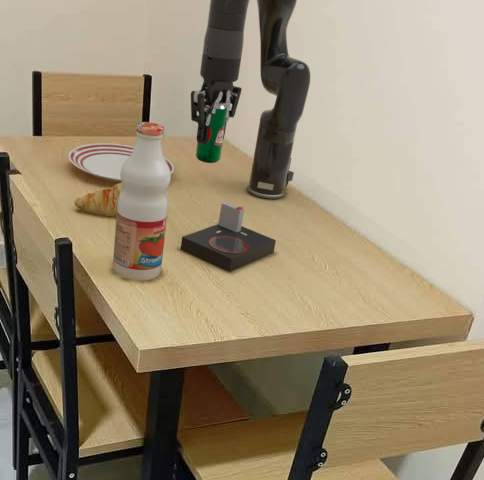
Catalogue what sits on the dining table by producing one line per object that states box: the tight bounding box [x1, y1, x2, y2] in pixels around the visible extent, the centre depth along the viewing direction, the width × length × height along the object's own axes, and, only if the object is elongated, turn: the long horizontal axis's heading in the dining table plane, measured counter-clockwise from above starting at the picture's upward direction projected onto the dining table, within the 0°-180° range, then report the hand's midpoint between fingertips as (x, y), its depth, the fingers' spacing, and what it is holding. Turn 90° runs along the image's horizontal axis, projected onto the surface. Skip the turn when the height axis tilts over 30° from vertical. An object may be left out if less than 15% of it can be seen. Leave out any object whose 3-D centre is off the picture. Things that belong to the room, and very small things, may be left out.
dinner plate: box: [67, 142, 175, 184], centre depth 191 cm, size 27×27×3 cm
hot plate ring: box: [209, 236, 249, 254], centre depth 152 cm, size 8×8×1 cm
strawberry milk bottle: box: [112, 121, 172, 282], centre depth 136 cm, size 9×9×28 cm
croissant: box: [73, 183, 122, 218], centre depth 167 cm, size 21×10×8 cm, turn 109°
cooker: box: [180, 220, 277, 273], centre depth 157 cm, size 17×15×3 cm
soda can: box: [195, 101, 227, 164], centre depth 150 cm, size 5×5×12 cm
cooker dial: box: [217, 201, 245, 232], centre depth 159 cm, size 5×2×5 cm, turn 50°
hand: (210, 140), depth 151 cm, fingers closed on soda can, 5 cm apart
